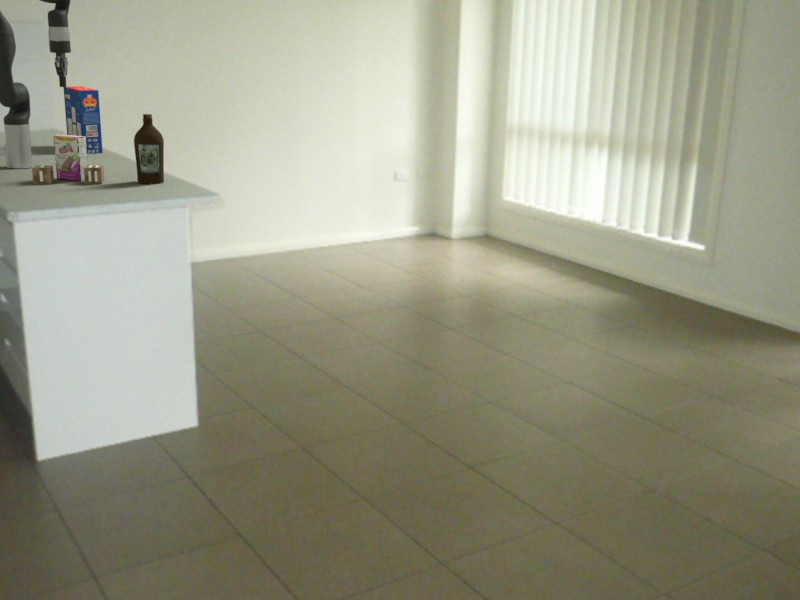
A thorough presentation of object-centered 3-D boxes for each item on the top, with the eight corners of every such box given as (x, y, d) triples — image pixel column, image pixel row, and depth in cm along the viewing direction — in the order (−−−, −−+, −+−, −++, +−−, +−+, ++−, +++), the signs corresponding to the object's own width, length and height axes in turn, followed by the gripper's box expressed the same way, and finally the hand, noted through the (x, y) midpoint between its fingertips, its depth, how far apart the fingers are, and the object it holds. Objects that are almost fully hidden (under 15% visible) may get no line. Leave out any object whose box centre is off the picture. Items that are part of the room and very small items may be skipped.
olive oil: (136, 180, 345) (133, 113, 338) (165, 179, 348) (162, 113, 341) (135, 184, 335) (131, 115, 328) (165, 184, 338) (162, 115, 331)
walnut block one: (33, 184, 331) (31, 167, 330) (37, 181, 337) (35, 165, 335) (50, 184, 332) (49, 167, 330) (54, 181, 338) (52, 165, 336)
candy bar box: (56, 179, 342) (52, 135, 338) (65, 177, 347) (61, 134, 342) (81, 181, 339) (77, 137, 334) (89, 180, 343) (86, 135, 339)
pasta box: (102, 153, 416) (98, 90, 408) (84, 154, 411) (80, 90, 403) (85, 146, 438) (80, 86, 430) (68, 146, 434) (63, 86, 426)
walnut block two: (84, 184, 334) (83, 167, 332) (87, 181, 340) (86, 165, 338) (101, 184, 335) (100, 167, 333) (104, 181, 341) (103, 165, 339)
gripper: (52, 39, 349) (56, 85, 354) (45, 39, 336) (49, 87, 341) (73, 39, 350) (76, 86, 355) (66, 40, 337) (70, 88, 342)
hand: (63, 86), depth 348 cm, fingers closed
